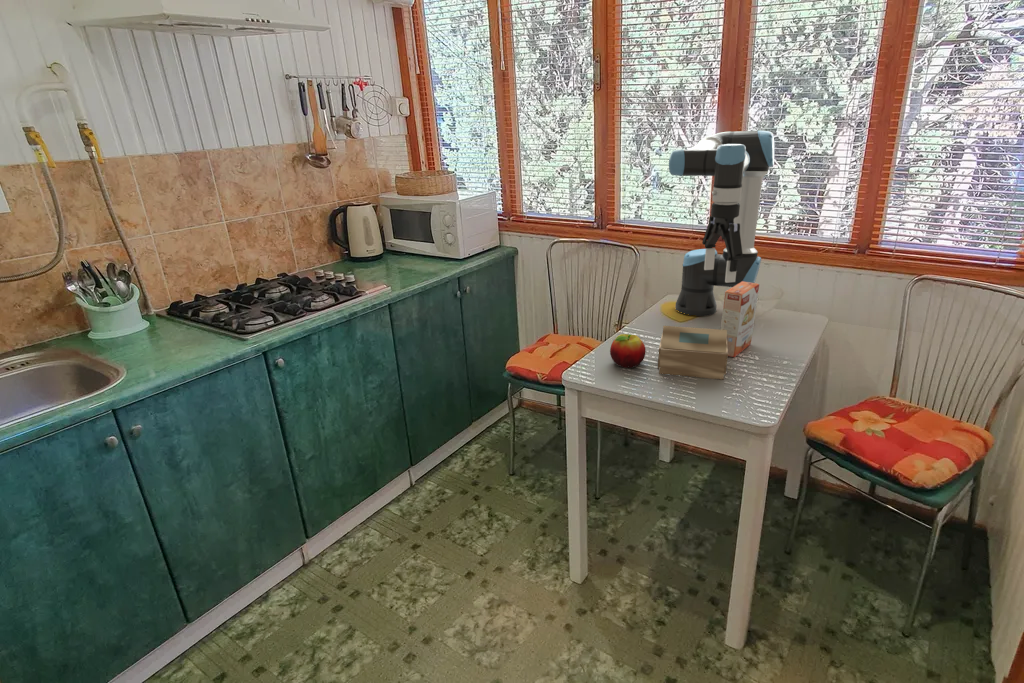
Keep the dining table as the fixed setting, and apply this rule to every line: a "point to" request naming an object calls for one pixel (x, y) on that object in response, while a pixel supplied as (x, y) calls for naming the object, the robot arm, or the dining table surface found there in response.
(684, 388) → the dining table surface
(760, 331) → the dining table surface
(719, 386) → the dining table surface
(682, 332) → the flap
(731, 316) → the cracker box
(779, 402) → the dining table surface
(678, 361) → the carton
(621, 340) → the fruit
